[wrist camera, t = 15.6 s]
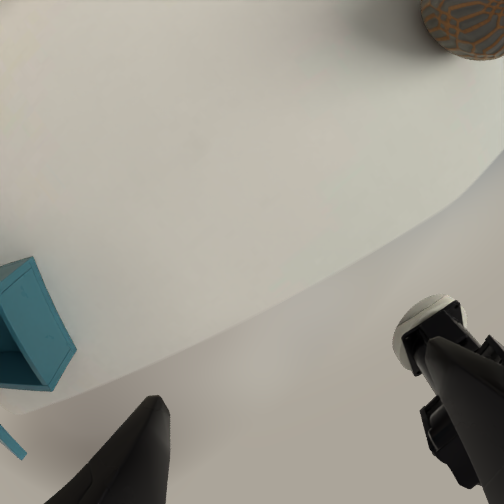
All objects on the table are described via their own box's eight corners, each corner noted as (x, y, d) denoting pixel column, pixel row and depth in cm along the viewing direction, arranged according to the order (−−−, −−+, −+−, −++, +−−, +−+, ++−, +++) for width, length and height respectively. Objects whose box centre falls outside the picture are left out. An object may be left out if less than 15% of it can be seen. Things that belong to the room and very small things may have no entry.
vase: (398, -21, 14) (462, -66, 6) (465, -1, 14) (533, -25, 6) (415, 58, 16) (498, 36, 8) (481, 71, 16) (560, 67, 8)
